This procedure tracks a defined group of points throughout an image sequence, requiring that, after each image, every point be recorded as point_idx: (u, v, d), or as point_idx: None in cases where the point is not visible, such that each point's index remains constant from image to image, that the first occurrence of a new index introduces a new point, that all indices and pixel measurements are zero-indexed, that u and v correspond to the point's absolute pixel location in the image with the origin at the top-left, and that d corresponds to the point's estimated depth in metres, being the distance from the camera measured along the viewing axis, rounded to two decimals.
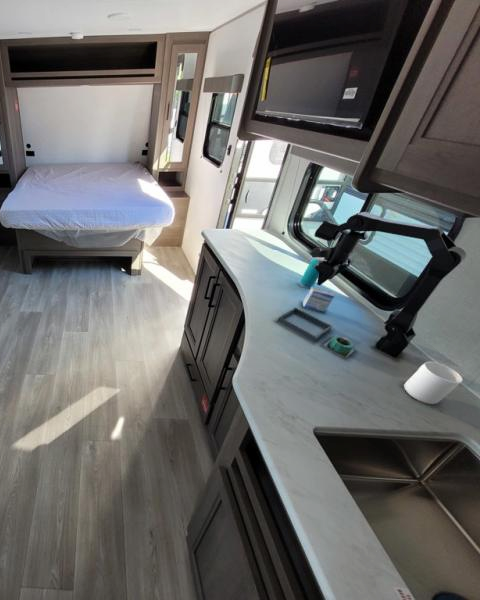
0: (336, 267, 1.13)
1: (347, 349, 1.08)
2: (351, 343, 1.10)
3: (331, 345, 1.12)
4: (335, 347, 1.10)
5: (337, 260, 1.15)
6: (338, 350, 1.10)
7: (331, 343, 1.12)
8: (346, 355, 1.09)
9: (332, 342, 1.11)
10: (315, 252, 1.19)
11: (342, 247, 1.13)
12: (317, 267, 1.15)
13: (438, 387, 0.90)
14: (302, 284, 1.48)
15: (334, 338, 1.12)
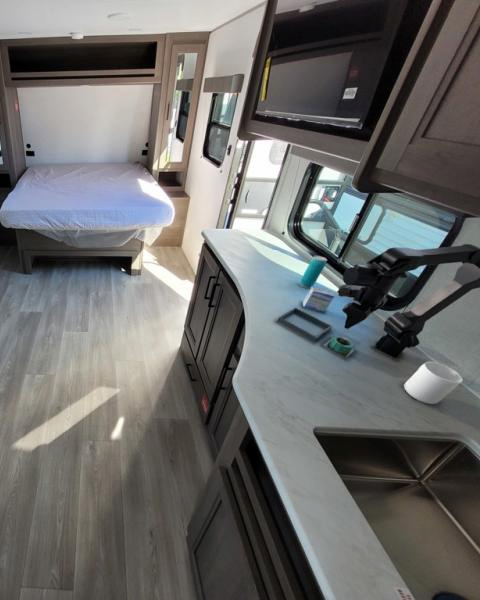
0: (368, 311, 0.97)
1: (347, 349, 1.08)
2: (351, 343, 1.10)
3: (331, 345, 1.12)
4: (335, 347, 1.10)
5: (369, 302, 1.00)
6: (338, 350, 1.10)
7: (331, 343, 1.12)
8: (346, 355, 1.09)
9: (332, 342, 1.11)
10: (342, 291, 1.04)
11: (385, 290, 0.96)
12: (346, 310, 1.00)
13: (438, 387, 0.90)
14: (302, 284, 1.48)
15: (334, 338, 1.12)
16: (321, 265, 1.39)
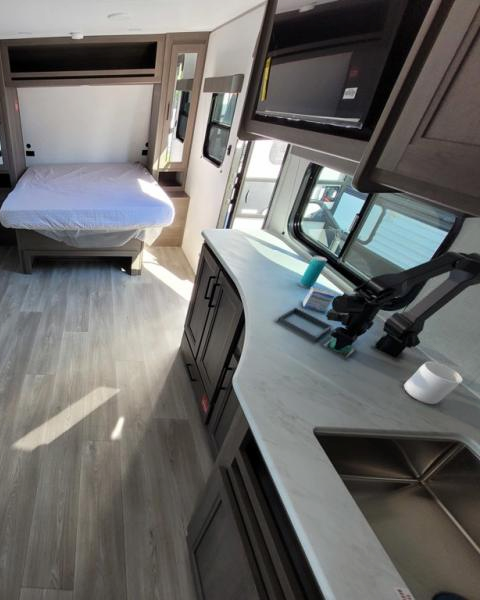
0: (355, 336, 1.01)
1: (347, 349, 1.08)
2: None
3: (331, 345, 1.12)
4: None
5: (356, 327, 1.04)
6: (338, 350, 1.10)
7: (331, 343, 1.12)
8: (346, 355, 1.09)
9: (332, 342, 1.11)
10: (331, 316, 1.08)
11: (371, 316, 1.00)
12: (334, 335, 1.04)
13: (438, 387, 0.90)
14: (302, 284, 1.48)
15: (334, 338, 1.12)
16: (321, 265, 1.39)
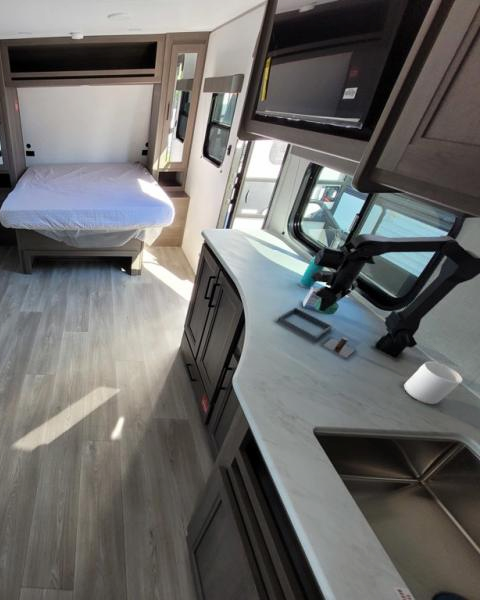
0: (339, 294, 1.03)
1: (332, 309, 1.10)
2: (336, 304, 1.11)
3: (316, 307, 1.13)
4: None
5: (340, 286, 1.05)
6: (323, 311, 1.11)
7: (316, 305, 1.13)
8: (346, 355, 1.09)
9: (317, 304, 1.13)
10: (316, 276, 1.09)
11: (351, 274, 1.02)
12: (318, 294, 1.06)
13: (438, 387, 0.90)
14: (302, 284, 1.48)
15: (319, 300, 1.13)
16: None
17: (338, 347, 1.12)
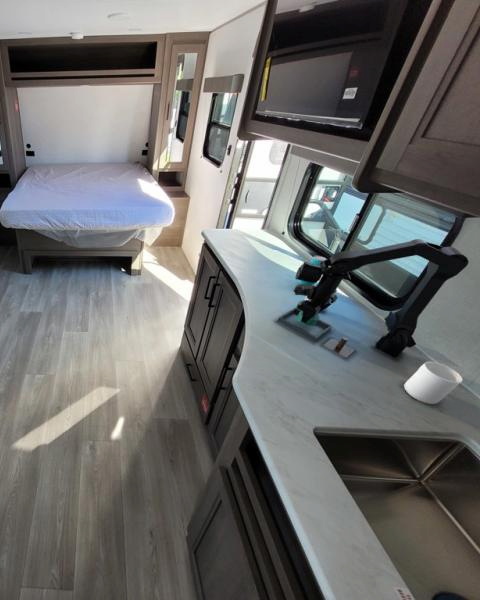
0: (318, 308, 1.10)
1: (313, 321, 1.17)
2: (317, 316, 1.18)
3: (299, 318, 1.20)
4: None
5: (320, 300, 1.12)
6: (305, 322, 1.18)
7: (299, 316, 1.20)
8: (346, 355, 1.09)
9: (300, 315, 1.20)
10: (297, 290, 1.16)
11: (329, 289, 1.09)
12: (299, 307, 1.13)
13: (438, 387, 0.90)
14: None
15: (302, 312, 1.20)
16: None
17: (338, 347, 1.12)
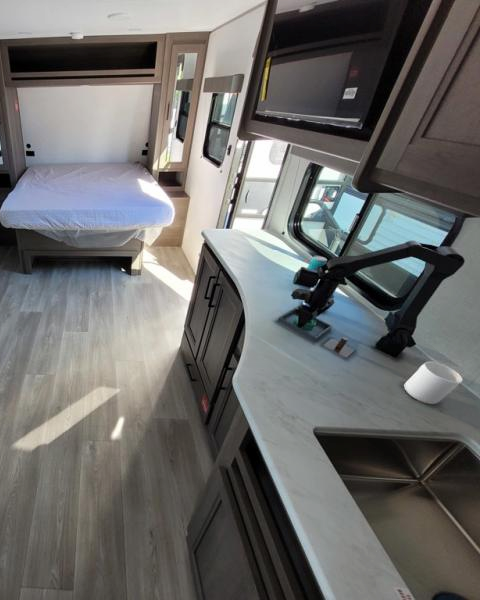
0: (315, 312, 1.11)
1: (309, 326, 1.18)
2: (314, 321, 1.20)
3: (296, 323, 1.22)
4: None
5: (317, 304, 1.13)
6: (302, 327, 1.20)
7: (296, 321, 1.22)
8: (346, 355, 1.09)
9: (297, 320, 1.21)
10: (295, 295, 1.17)
11: (325, 293, 1.10)
12: (296, 311, 1.14)
13: (438, 387, 0.90)
14: None
15: None
16: (321, 265, 1.39)
17: (338, 347, 1.12)
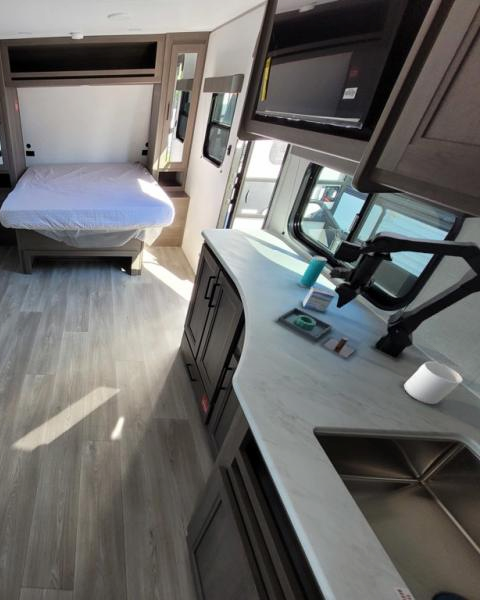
0: (358, 290, 1.05)
1: (309, 326, 1.18)
2: (314, 321, 1.20)
3: (296, 323, 1.22)
4: (299, 325, 1.20)
5: (359, 282, 1.08)
6: (302, 327, 1.20)
7: (296, 321, 1.22)
8: (346, 355, 1.09)
9: (297, 320, 1.21)
10: (334, 273, 1.12)
11: (367, 269, 1.05)
12: (337, 290, 1.08)
13: (438, 387, 0.90)
14: (302, 284, 1.48)
15: (299, 317, 1.22)
16: (321, 265, 1.39)
17: (338, 347, 1.12)
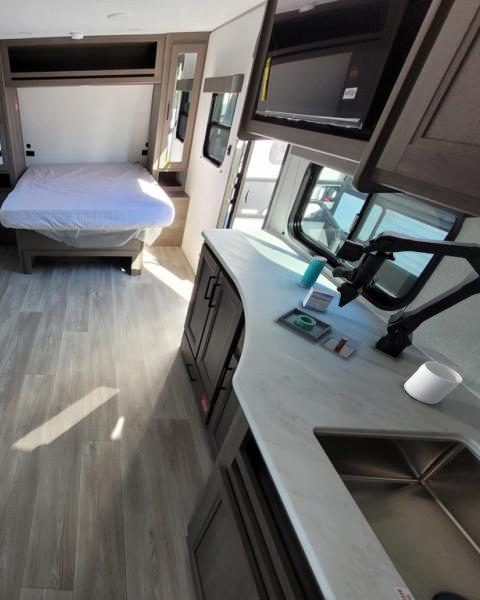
0: (360, 289, 1.05)
1: (309, 326, 1.18)
2: (314, 321, 1.20)
3: (296, 323, 1.22)
4: (299, 325, 1.20)
5: (361, 282, 1.08)
6: (302, 327, 1.20)
7: (296, 321, 1.22)
8: (346, 355, 1.09)
9: (297, 320, 1.21)
10: (337, 272, 1.12)
11: (369, 269, 1.05)
12: (339, 289, 1.08)
13: (438, 387, 0.90)
14: (302, 284, 1.48)
15: (299, 317, 1.22)
16: (321, 265, 1.39)
17: (338, 347, 1.12)
